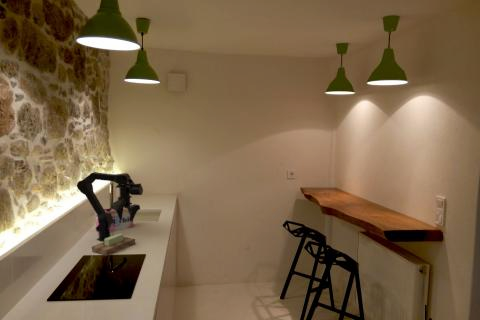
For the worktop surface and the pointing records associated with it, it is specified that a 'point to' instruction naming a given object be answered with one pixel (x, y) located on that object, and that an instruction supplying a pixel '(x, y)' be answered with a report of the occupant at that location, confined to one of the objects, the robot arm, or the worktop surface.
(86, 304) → the worktop surface
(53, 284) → the worktop surface
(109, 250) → the brown wooden flat panel
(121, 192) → the robot arm
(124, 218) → the gum box
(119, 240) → the sage green tapered block
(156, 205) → the worktop surface
